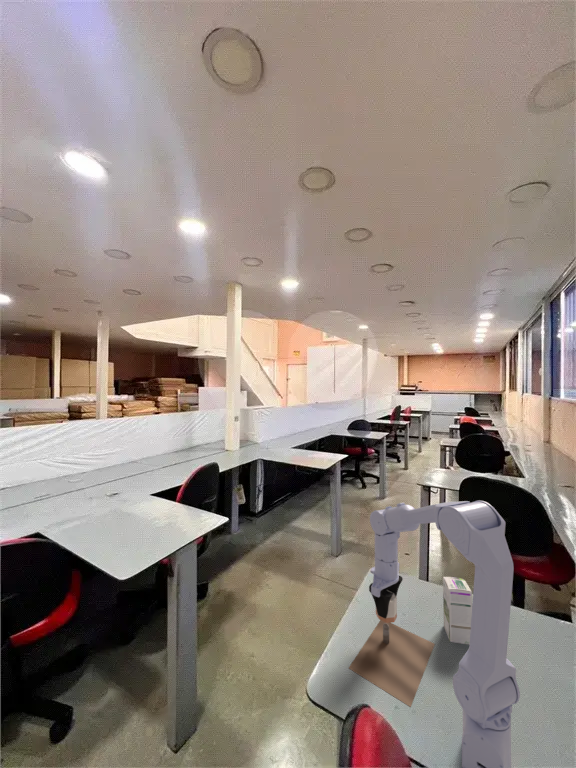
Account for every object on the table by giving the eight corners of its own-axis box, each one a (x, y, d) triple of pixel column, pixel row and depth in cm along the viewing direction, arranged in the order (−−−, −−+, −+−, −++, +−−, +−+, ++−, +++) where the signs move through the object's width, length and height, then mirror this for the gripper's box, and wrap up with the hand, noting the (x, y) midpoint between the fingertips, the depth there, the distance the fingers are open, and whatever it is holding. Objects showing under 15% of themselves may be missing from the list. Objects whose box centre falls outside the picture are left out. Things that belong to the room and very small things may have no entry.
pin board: (410, 712, 62) (410, 684, 62) (348, 672, 71) (348, 648, 71) (434, 647, 78) (434, 626, 78) (381, 621, 87) (381, 602, 87)
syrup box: (474, 649, 78) (473, 591, 78) (449, 645, 79) (448, 588, 79) (466, 632, 83) (465, 578, 84) (442, 628, 84) (442, 575, 85)
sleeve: (392, 625, 75) (392, 605, 76) (373, 616, 78) (373, 596, 79) (398, 614, 79) (398, 594, 79) (380, 606, 82) (380, 587, 82)
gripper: (381, 541, 87) (381, 589, 87) (359, 563, 76) (359, 619, 76) (407, 549, 83) (407, 600, 83) (387, 574, 72) (387, 633, 71)
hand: (386, 610), depth 79 cm, fingers closed on sleeve, 5 cm apart
